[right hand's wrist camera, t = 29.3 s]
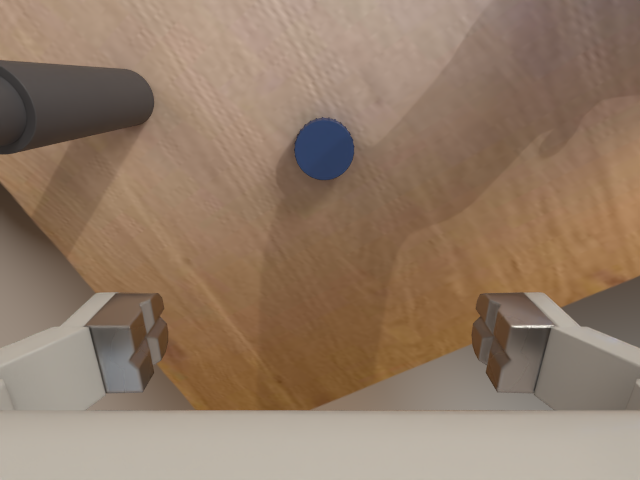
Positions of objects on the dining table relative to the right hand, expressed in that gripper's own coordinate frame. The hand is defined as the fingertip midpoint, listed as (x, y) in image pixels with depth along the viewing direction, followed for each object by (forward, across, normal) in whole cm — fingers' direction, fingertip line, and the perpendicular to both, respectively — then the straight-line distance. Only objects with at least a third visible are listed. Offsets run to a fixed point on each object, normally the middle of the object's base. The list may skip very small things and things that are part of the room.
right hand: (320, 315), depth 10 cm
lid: (+27, 0, 0) cm, 27 cm away
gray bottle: (+29, +17, -4) cm, 34 cm away
